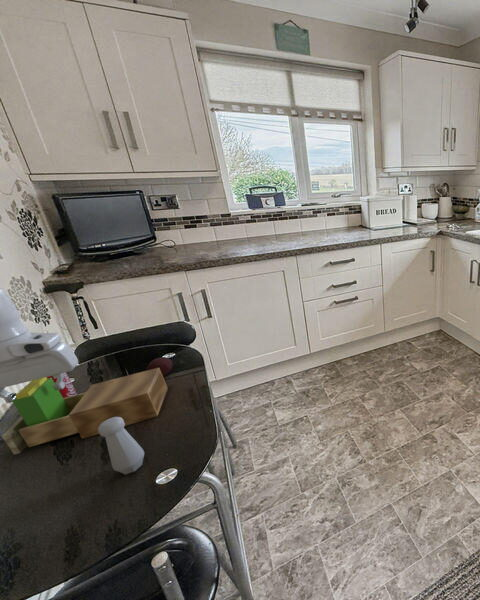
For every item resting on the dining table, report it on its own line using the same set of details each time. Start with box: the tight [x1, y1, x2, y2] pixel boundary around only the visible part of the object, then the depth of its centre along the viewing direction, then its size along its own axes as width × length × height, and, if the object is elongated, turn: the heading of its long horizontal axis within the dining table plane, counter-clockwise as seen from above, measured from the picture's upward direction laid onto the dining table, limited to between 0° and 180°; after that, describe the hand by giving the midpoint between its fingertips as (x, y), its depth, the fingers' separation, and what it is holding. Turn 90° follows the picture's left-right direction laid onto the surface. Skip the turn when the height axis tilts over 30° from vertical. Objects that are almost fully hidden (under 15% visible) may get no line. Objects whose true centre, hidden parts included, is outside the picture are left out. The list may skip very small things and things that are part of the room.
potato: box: [145, 356, 173, 378], centre depth 111 cm, size 8×9×6 cm
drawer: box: [0, 391, 87, 455], centre depth 87 cm, size 20×14×6 cm
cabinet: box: [69, 368, 168, 440], centre depth 93 cm, size 17×15×8 cm
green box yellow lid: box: [11, 377, 71, 427], centre depth 85 cm, size 4×9×13 cm, turn 25°
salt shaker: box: [98, 417, 145, 475], centre depth 72 cm, size 6×6×13 cm
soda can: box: [46, 372, 78, 398], centre depth 99 cm, size 7×7×12 cm
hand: (37, 394), depth 84 cm, fingers open, 8 cm apart
